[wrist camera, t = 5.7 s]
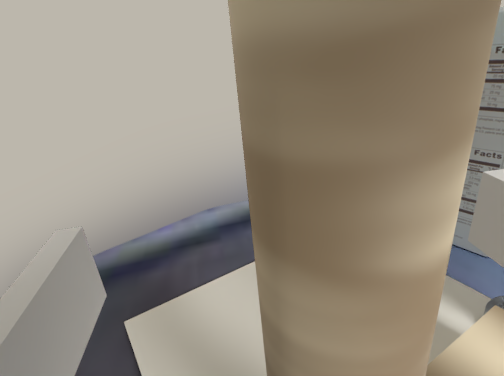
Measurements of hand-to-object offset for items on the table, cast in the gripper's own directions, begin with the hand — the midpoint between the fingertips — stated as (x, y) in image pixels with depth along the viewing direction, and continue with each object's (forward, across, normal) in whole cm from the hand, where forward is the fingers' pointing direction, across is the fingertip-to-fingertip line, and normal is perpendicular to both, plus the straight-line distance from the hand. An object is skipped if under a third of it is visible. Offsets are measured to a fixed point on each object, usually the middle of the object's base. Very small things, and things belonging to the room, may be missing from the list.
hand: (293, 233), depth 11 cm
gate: (-2, +5, -10) cm, 11 cm away
